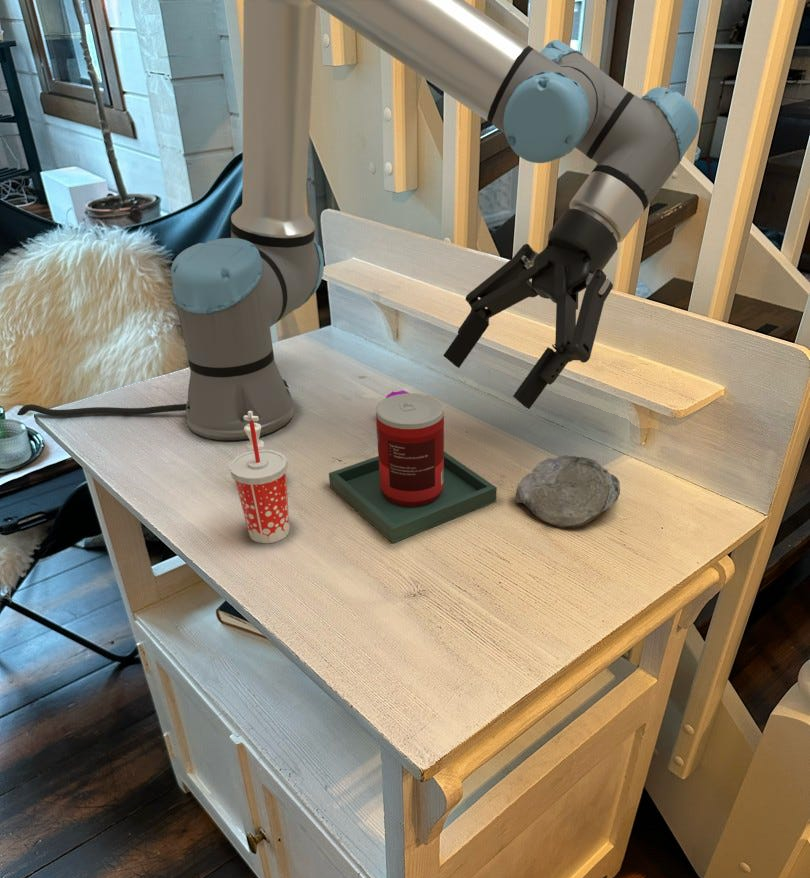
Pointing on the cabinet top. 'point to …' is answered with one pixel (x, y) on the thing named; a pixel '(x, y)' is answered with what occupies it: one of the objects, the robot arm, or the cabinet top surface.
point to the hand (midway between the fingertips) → (484, 381)
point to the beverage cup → (262, 492)
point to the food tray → (404, 521)
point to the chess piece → (257, 430)
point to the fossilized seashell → (568, 491)
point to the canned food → (410, 448)
